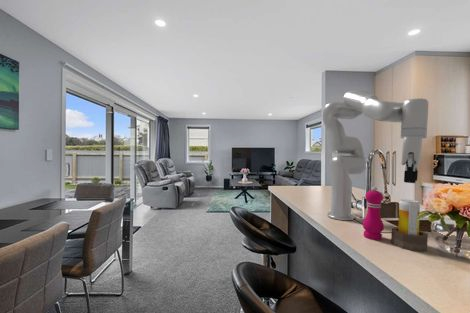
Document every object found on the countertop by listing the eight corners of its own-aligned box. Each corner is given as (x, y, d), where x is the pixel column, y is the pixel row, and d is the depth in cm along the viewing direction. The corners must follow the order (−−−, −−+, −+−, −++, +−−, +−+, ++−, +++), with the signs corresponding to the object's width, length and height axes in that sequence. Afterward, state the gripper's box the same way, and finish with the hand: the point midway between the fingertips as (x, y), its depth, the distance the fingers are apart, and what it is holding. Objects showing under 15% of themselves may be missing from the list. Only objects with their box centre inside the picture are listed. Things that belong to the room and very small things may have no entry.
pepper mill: (386, 241, 90) (388, 188, 90) (365, 239, 92) (367, 187, 91) (379, 235, 97) (381, 185, 97) (359, 233, 99) (361, 184, 98)
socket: (393, 237, 94) (394, 225, 94) (427, 245, 88) (428, 231, 88) (389, 245, 86) (390, 231, 86) (426, 253, 80) (427, 239, 80)
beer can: (411, 239, 90) (412, 199, 90) (422, 245, 84) (424, 202, 84) (394, 238, 91) (395, 198, 91) (404, 244, 85) (406, 202, 84)
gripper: (403, 135, 95) (400, 178, 96) (397, 132, 82) (395, 182, 83) (427, 135, 90) (424, 180, 91) (425, 132, 77) (422, 185, 78)
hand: (410, 181), depth 87 cm, fingers open, 9 cm apart
